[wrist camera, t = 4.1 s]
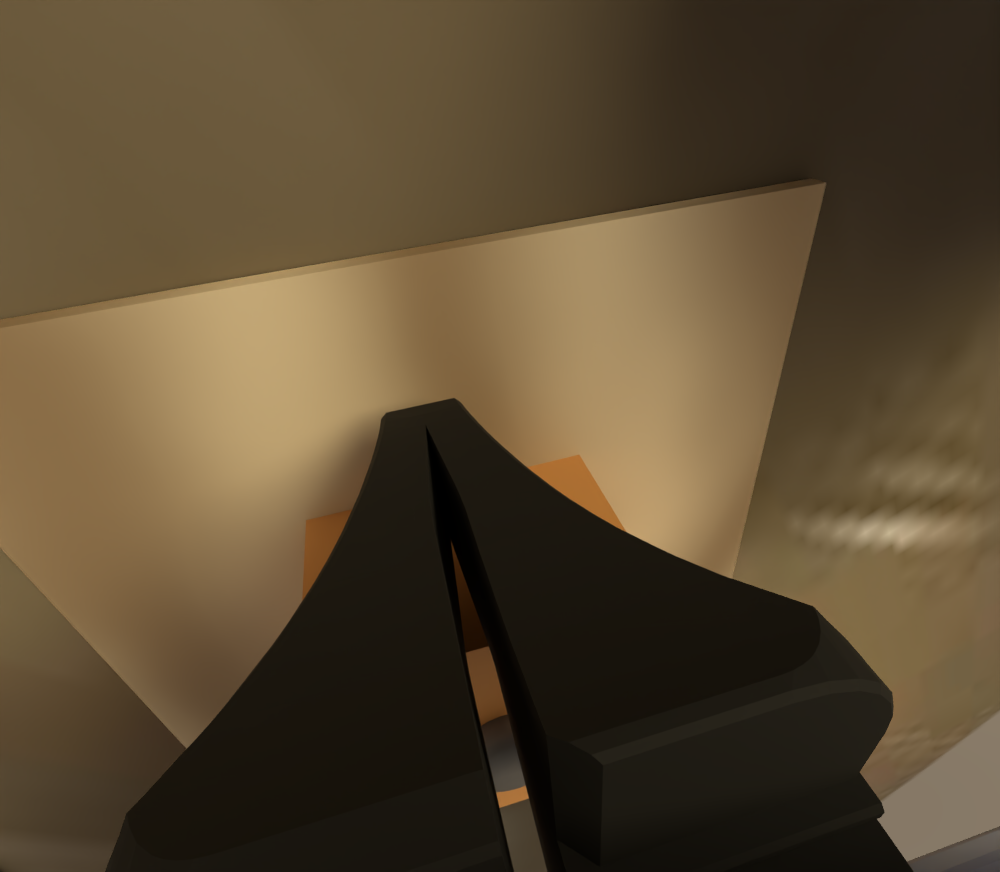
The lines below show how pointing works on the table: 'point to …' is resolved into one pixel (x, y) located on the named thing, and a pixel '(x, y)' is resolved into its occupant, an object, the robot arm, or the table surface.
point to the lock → (494, 720)
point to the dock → (364, 401)
